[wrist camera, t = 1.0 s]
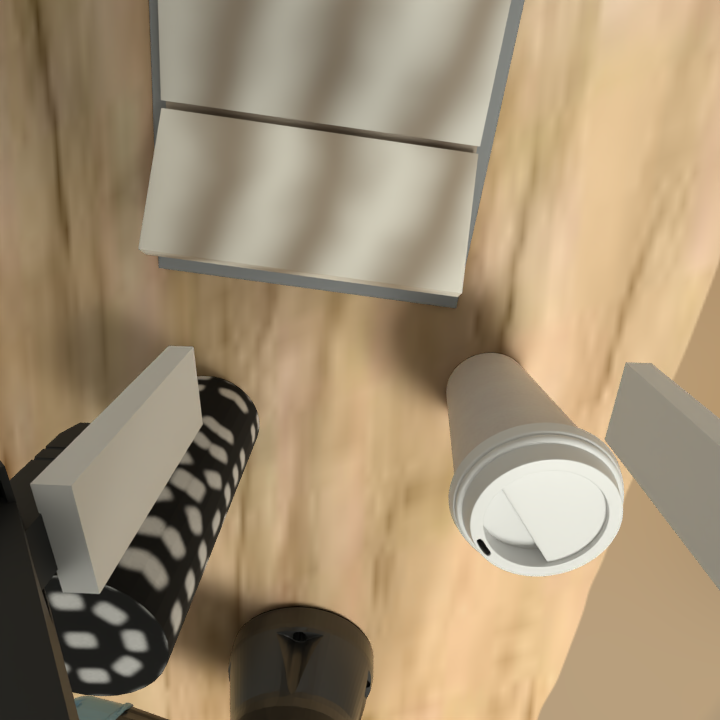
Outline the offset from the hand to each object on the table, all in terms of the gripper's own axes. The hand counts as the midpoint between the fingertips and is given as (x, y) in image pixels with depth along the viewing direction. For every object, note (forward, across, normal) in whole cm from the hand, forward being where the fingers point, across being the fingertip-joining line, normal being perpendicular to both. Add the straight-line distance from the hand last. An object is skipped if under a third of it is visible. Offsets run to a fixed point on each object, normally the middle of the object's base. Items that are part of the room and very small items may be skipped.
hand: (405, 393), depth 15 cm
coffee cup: (+22, +8, -11) cm, 26 cm away
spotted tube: (+22, -14, -15) cm, 30 cm away
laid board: (+22, -4, +13) cm, 25 cm away
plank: (+19, -5, +3) cm, 20 cm away
